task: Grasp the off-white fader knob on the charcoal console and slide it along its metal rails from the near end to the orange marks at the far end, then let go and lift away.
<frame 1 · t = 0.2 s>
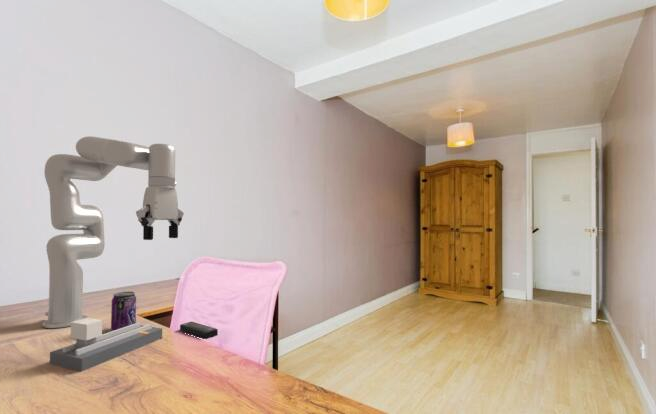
hand: (161, 238, 104), 31 cm above the table, tool pointing down, fingers open, 9 cm apart
multiport hub: (198, 334, 109), on the table
fader knob: (86, 334, 88), point 7 cm above the table, slide at -7.0 cm
fader console: (111, 349, 94), on the table
beverage can: (123, 330, 112), on the table
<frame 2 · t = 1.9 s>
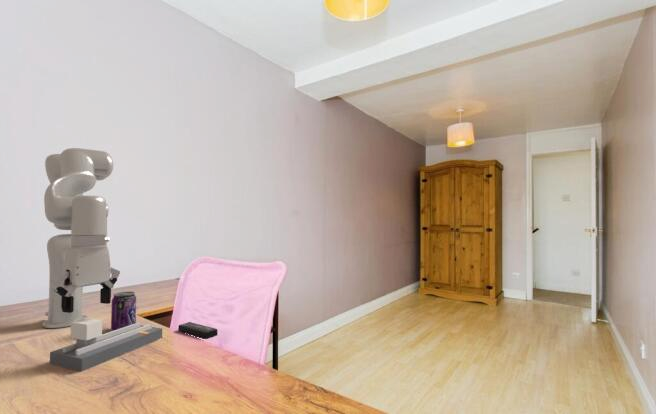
hand: (87, 307, 88), 14 cm above the table, tool pointing down, fingers open, 9 cm apart
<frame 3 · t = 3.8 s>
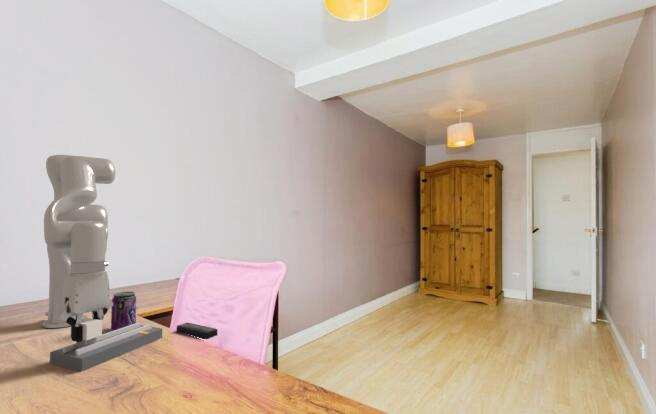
hand: (86, 337, 88), 6 cm above the table, tool pointing down, fingers closed on fader knob, 4 cm apart
fader knob: (86, 334, 88), point 7 cm above the table, slide at -7.0 cm, touching gripper
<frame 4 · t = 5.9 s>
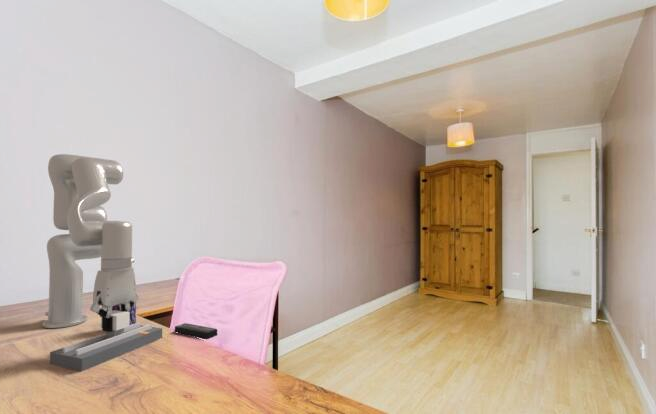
hand: (115, 327, 96), 6 cm above the table, tool pointing down, fingers closed on fader knob, 4 cm apart
fader knob: (115, 325, 96), point 7 cm above the table, slide at 1.1 cm, touching gripper
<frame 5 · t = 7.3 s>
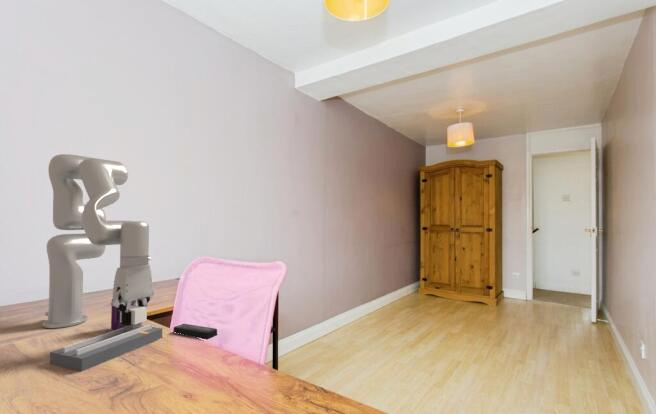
hand: (133, 322, 101), 6 cm above the table, tool pointing down, fingers closed on fader knob, 4 cm apart
fader knob: (133, 319, 101), point 7 cm above the table, slide at 6.9 cm, touching gripper
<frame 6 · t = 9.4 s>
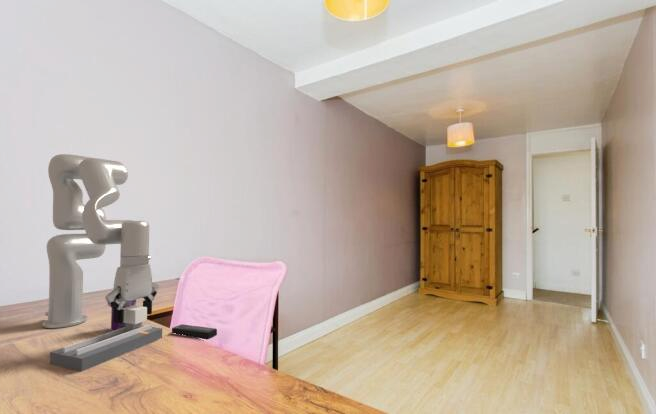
hand: (133, 317, 101), 7 cm above the table, tool pointing down, fingers open, 9 cm apart
fader knob: (133, 319, 101), point 7 cm above the table, slide at 7.0 cm
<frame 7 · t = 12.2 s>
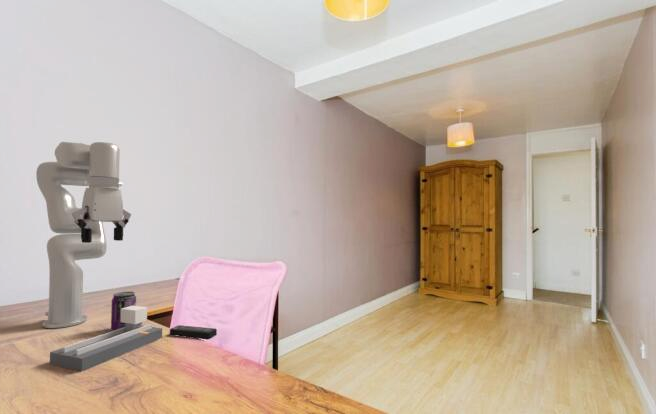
hand: (103, 241, 100), 30 cm above the table, tool pointing down, fingers open, 9 cm apart
at the end: fader knob slide at 7.0 cm; the gripper is holding nothing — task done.
